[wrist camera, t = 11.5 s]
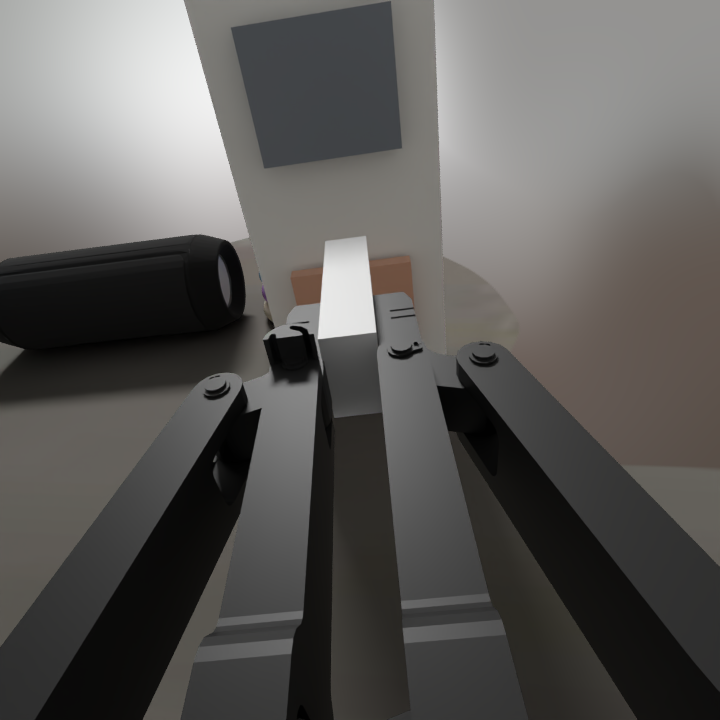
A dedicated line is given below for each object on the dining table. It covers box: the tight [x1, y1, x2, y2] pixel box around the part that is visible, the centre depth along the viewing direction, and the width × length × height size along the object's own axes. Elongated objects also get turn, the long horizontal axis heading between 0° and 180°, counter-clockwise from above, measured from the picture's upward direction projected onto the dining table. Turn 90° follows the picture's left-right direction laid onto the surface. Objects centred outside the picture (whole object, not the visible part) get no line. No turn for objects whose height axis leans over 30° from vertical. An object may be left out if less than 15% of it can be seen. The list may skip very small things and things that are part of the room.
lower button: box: [290, 256, 415, 311], centre depth 34 cm, size 8×7×6 cm
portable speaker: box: [0, 235, 246, 350], centre depth 50 cm, size 26×10×10 cm, turn 89°
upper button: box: [231, 1, 402, 169], centre depth 27 cm, size 8×7×6 cm
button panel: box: [184, 0, 446, 355], centre depth 32 cm, size 12×6×30 cm, turn 92°
